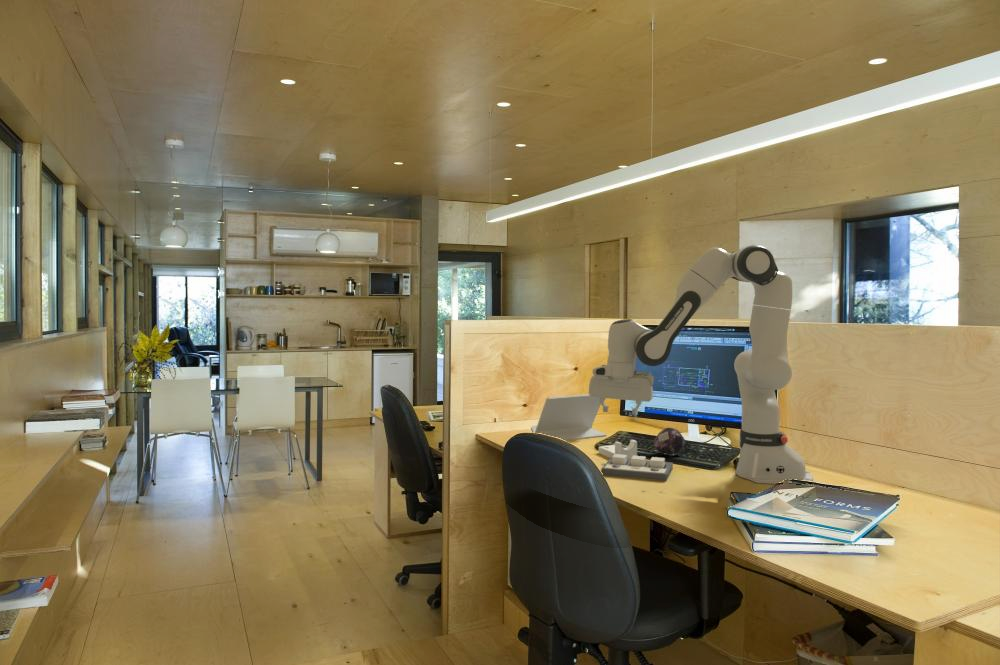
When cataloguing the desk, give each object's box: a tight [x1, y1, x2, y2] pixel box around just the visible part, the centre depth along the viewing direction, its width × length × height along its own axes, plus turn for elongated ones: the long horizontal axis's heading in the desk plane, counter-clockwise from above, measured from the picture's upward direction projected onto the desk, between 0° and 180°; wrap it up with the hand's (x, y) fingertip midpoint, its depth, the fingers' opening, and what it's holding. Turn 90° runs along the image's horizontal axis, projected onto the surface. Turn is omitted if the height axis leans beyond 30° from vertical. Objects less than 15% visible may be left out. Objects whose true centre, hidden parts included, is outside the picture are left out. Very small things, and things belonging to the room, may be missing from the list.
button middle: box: [631, 455, 647, 467], centre depth 225 cm, size 4×4×2 cm
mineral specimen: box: [653, 427, 686, 454], centre depth 247 cm, size 10×10×10 cm
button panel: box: [600, 457, 674, 482], centre depth 223 cm, size 20×14×3 cm
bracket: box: [598, 439, 638, 459], centre depth 242 cm, size 13×7×8 cm, turn 24°
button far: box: [612, 454, 627, 465], centre depth 227 cm, size 4×4×2 cm
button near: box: [649, 456, 666, 469], centre depth 222 cm, size 4×4×2 cm
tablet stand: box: [530, 393, 607, 442], centre depth 279 cm, size 18×25×17 cm
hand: (620, 413), depth 226 cm, fingers open, 8 cm apart
